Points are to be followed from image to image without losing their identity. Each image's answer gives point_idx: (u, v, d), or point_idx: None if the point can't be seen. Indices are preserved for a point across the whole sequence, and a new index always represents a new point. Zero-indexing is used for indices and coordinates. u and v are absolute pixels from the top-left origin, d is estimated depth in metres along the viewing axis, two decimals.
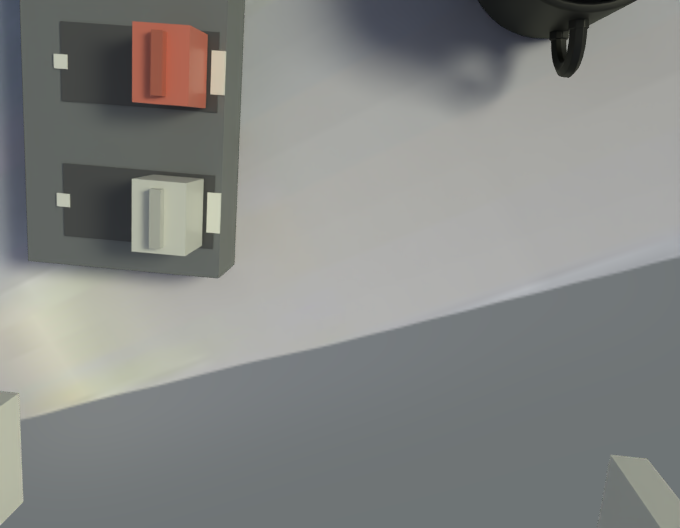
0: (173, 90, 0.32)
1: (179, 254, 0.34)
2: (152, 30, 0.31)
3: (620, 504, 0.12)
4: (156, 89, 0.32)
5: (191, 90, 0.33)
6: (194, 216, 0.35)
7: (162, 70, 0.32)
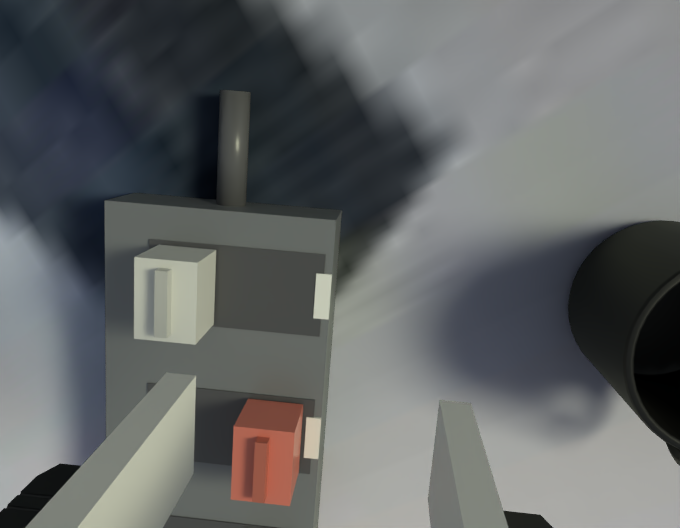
0: (274, 491, 0.31)
1: None
2: (256, 443, 0.30)
3: (439, 440, 0.14)
4: (259, 496, 0.30)
5: (292, 484, 0.31)
6: None
7: (265, 478, 0.30)
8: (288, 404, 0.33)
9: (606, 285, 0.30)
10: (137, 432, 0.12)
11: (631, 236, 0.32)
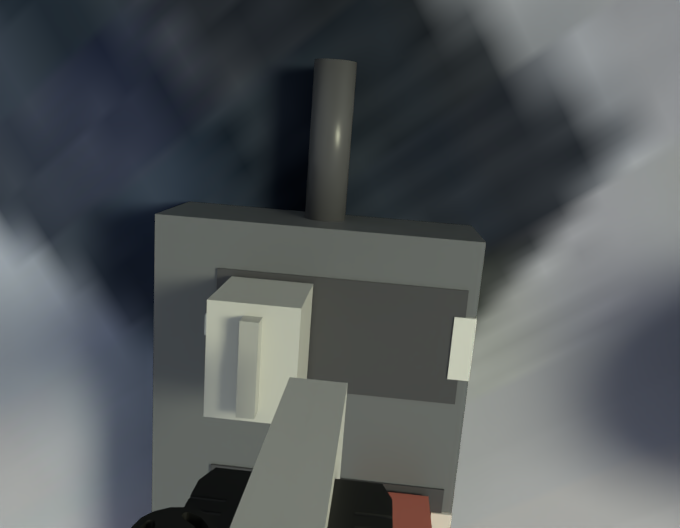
0: None
1: None
2: None
3: None
4: None
5: None
6: None
7: None
8: (408, 497, 0.24)
9: None
10: (290, 437, 0.13)
11: None
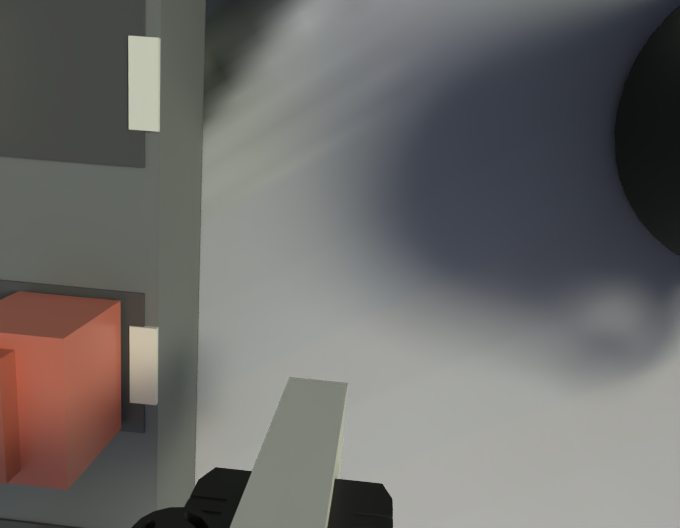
0: (35, 459, 0.15)
1: None
2: None
3: None
4: None
5: (76, 448, 0.16)
6: None
7: (5, 433, 0.15)
8: (90, 300, 0.18)
9: None
10: (290, 436, 0.13)
11: None
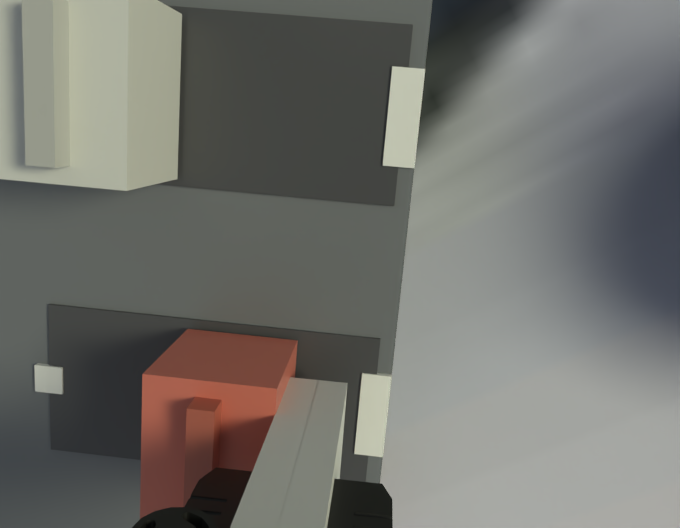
0: None
1: None
2: (190, 411, 0.13)
3: None
4: None
5: None
6: None
7: None
8: (267, 340, 0.17)
9: None
10: (290, 437, 0.13)
11: None
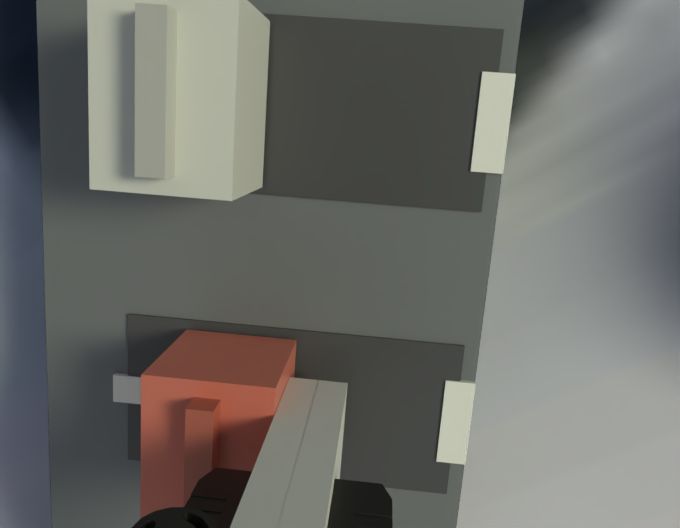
0: None
1: None
2: (189, 411, 0.13)
3: None
4: None
5: None
6: None
7: None
8: (266, 339, 0.17)
9: None
10: (290, 436, 0.13)
11: None
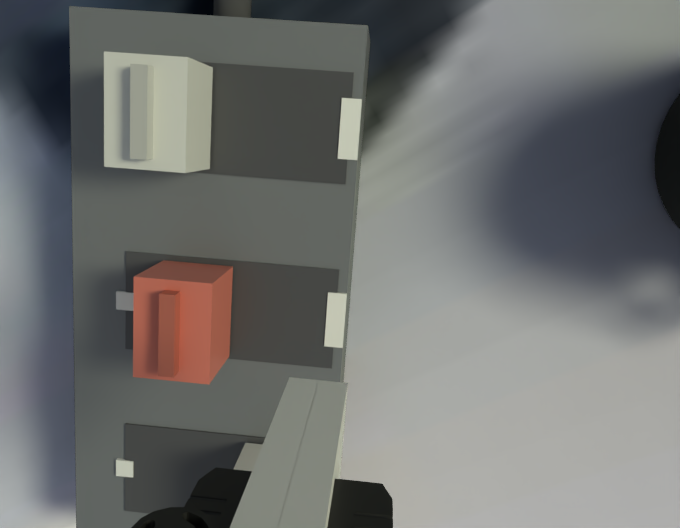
0: (189, 364, 0.24)
1: None
2: (161, 295, 0.23)
3: None
4: (167, 368, 0.23)
5: (213, 358, 0.24)
6: None
7: (174, 344, 0.23)
8: (213, 265, 0.26)
9: None
10: (290, 436, 0.13)
11: None
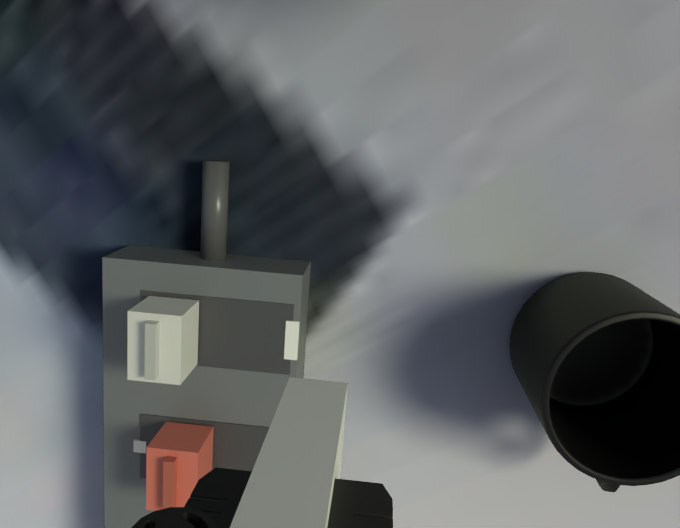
0: (183, 502, 0.36)
1: None
2: (164, 462, 0.35)
3: None
4: (168, 507, 0.36)
5: None
6: None
7: (173, 492, 0.35)
8: (200, 426, 0.38)
9: (535, 332, 0.35)
10: (290, 436, 0.13)
11: (560, 287, 0.37)
